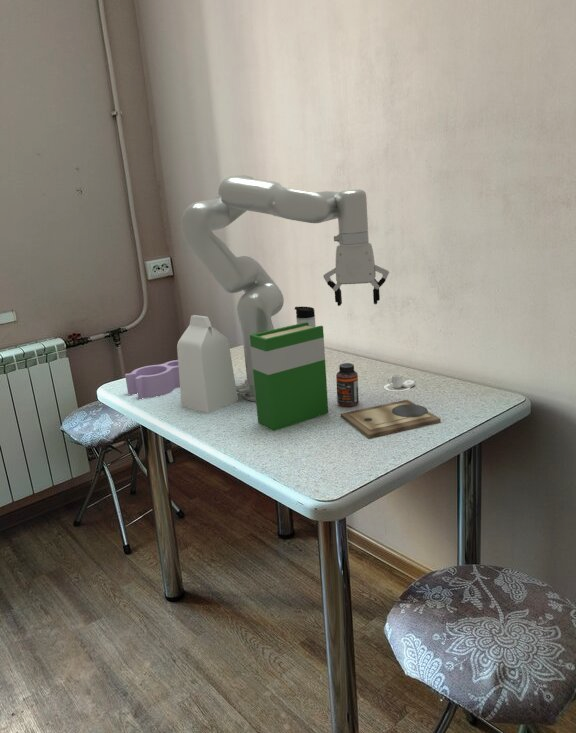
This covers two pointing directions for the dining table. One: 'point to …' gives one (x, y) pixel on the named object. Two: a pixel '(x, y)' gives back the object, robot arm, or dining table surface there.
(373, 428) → the brown flat wooden board
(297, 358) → the hardback book
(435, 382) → the dining table surface
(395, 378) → the teacup and saucer
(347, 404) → the supplement bottle
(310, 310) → the travel mug
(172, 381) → the clip
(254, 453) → the dining table surface
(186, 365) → the milk
